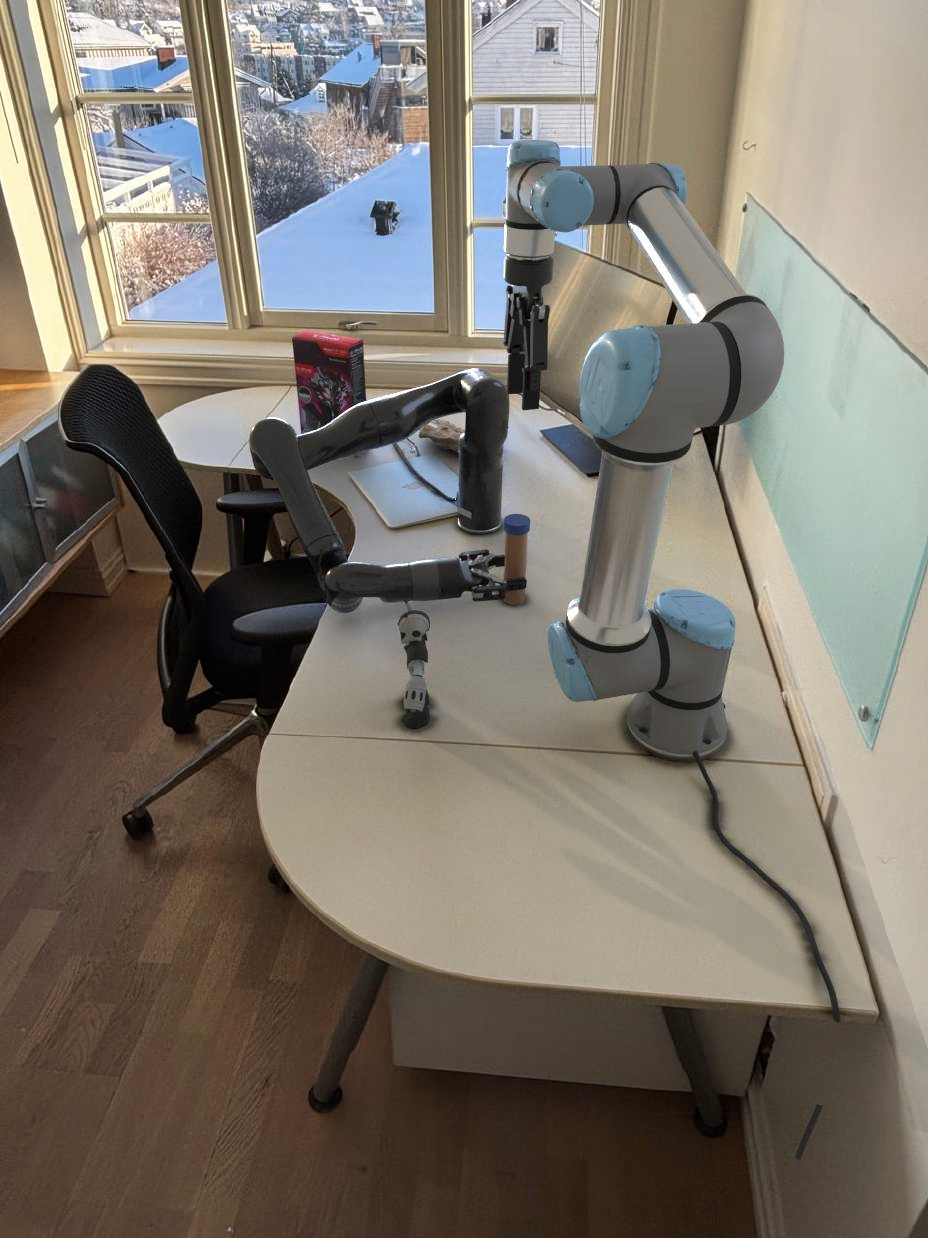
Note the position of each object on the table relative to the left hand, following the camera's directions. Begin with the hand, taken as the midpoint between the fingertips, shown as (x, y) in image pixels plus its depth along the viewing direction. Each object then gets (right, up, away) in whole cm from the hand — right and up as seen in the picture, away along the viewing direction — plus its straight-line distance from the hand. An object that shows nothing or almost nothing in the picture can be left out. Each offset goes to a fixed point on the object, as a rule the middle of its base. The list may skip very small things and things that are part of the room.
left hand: (520, 571), depth 171 cm
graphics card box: (-43, +35, +63) cm, 84 cm away
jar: (-1, -5, +3) cm, 6 cm away
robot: (-18, -24, -25) cm, 39 cm away
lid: (-1, +9, -6) cm, 10 cm away
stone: (-13, +34, +61) cm, 71 cm away
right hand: (-1, +27, -19) cm, 33 cm away
